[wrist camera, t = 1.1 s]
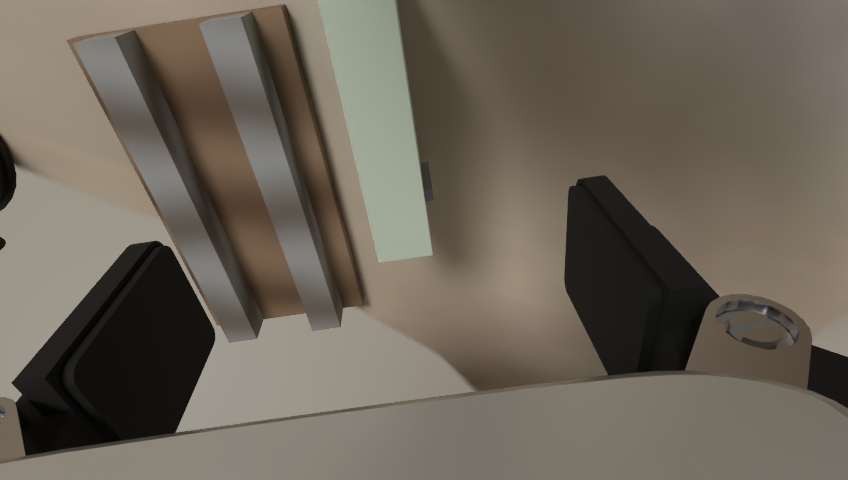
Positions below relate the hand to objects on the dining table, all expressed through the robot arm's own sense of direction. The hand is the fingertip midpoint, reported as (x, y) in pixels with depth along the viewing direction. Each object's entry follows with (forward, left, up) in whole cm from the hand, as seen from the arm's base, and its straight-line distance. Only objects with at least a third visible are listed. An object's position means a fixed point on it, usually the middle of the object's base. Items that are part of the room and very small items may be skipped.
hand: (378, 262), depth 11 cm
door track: (+6, -10, -18) cm, 21 cm away
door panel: (0, 0, -18) cm, 18 cm away
